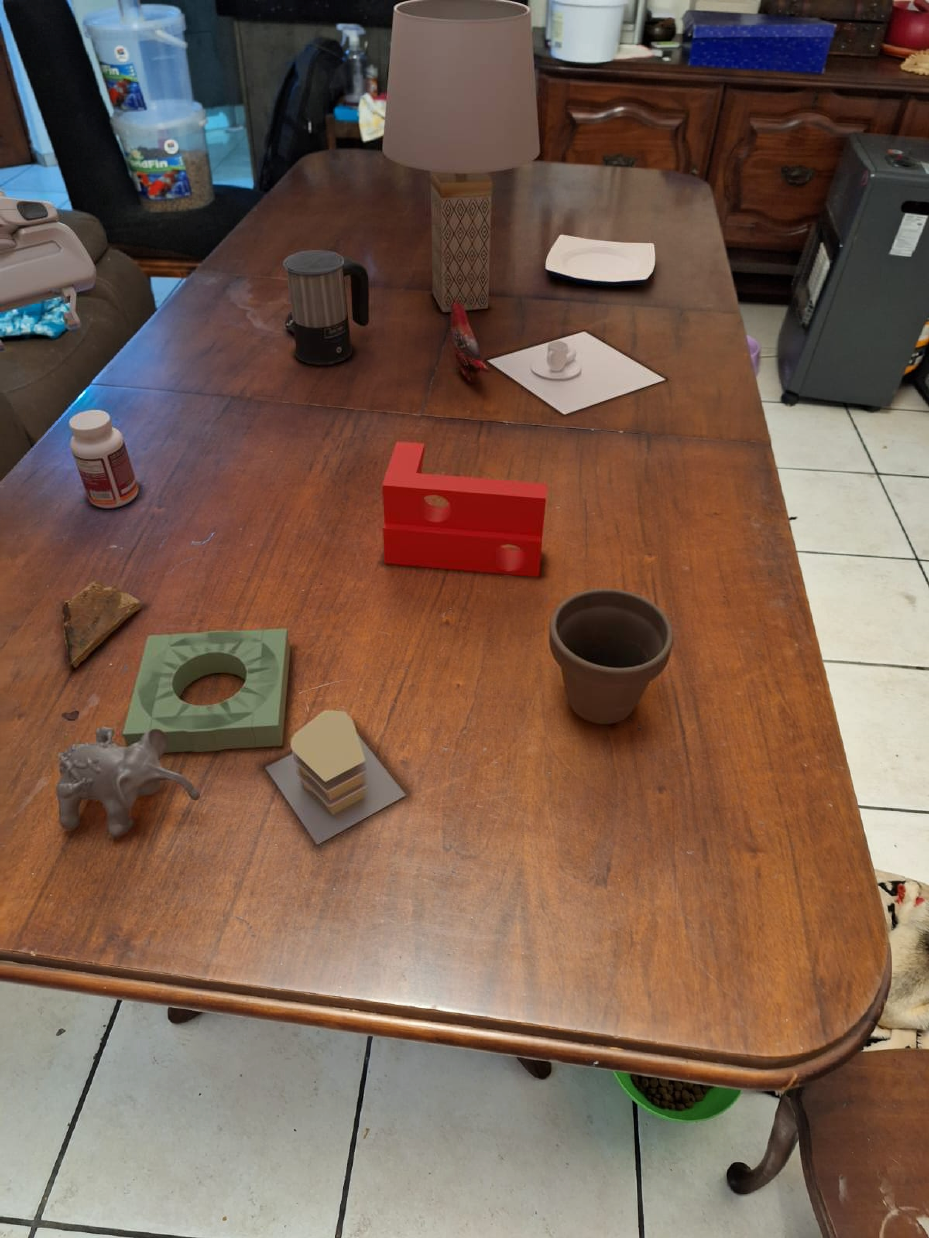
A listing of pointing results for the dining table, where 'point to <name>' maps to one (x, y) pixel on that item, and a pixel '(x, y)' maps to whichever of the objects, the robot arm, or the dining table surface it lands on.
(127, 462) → the pill bottle
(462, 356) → the decorative bird figurine
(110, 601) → the shard
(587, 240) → the plate
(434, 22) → the lamp
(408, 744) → the dining table surface
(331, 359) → the milk frother
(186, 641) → the socket pad
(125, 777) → the gray elephant figurine
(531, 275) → the dining table surface
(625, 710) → the flower pot
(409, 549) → the bracket
